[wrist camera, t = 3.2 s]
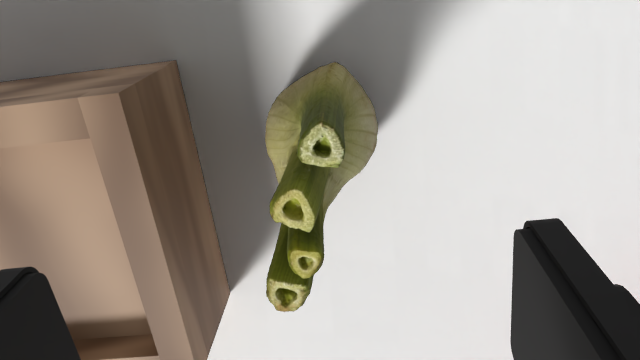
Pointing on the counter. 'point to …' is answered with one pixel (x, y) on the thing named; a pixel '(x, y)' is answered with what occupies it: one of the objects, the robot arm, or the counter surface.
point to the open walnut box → (112, 210)
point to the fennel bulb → (312, 170)
